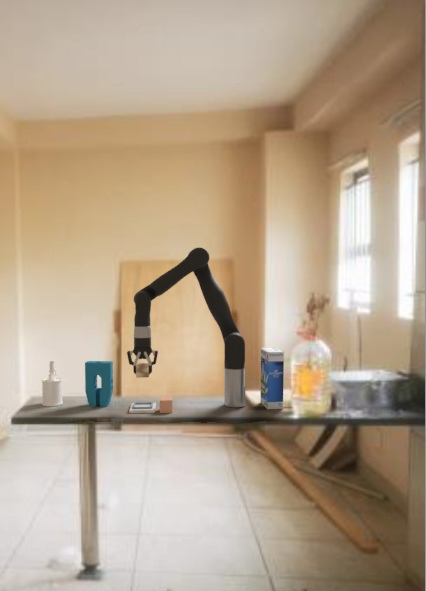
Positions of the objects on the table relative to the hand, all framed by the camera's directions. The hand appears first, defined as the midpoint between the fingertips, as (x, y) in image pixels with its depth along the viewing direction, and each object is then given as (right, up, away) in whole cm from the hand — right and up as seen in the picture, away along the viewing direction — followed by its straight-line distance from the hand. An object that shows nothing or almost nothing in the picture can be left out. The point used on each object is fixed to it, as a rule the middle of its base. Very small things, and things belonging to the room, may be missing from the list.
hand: (142, 373), depth 232 cm
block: (-21, -16, +7) cm, 27 cm away
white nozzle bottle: (-43, -16, +9) cm, 47 cm away
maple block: (0, -1, 0) cm, 1 cm away
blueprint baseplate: (0, -16, +1) cm, 16 cm away
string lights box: (+58, -16, +6) cm, 61 cm away
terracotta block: (+11, -16, -3) cm, 20 cm away
